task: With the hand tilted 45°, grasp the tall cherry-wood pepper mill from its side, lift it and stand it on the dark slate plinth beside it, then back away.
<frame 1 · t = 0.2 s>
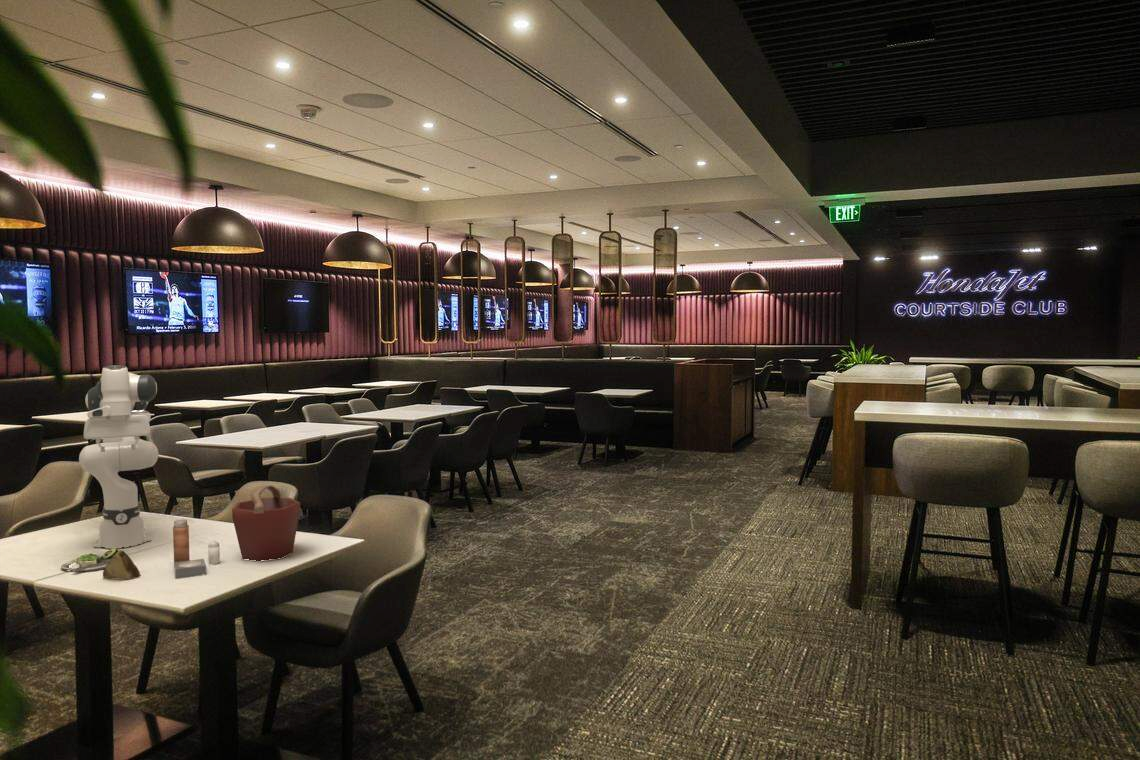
hand: (118, 450, 270), 39 cm above the table, tool pointing down, fingers open, 8 cm apart
rock: (121, 578, 253), on the table
salt shaker: (214, 563, 268), on the table
bucket: (265, 555, 278), on the table
plinth: (190, 572, 257), on the table
pepper mill: (182, 566, 264), on the table
plate of avocado toast: (95, 565, 267), on the table
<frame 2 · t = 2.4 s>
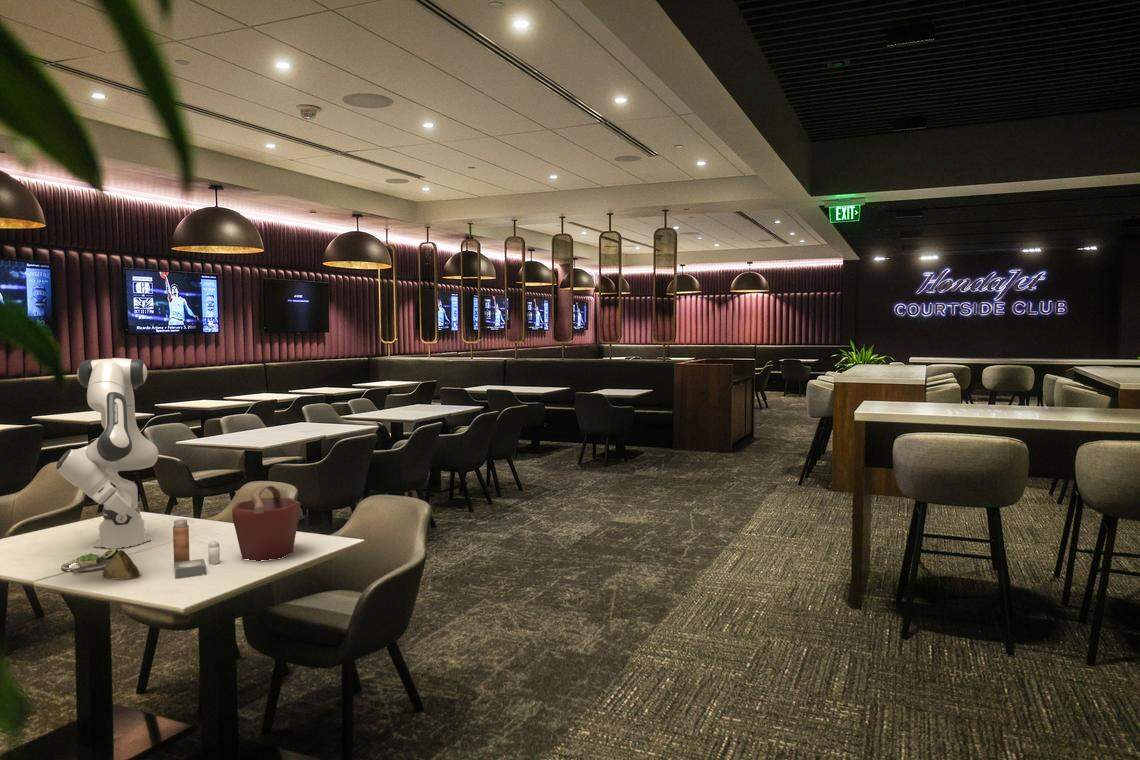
hand: (139, 515, 257), 19 cm above the table, tool tilted 45°, fingers open, 8 cm apart
nothing on the table moved.
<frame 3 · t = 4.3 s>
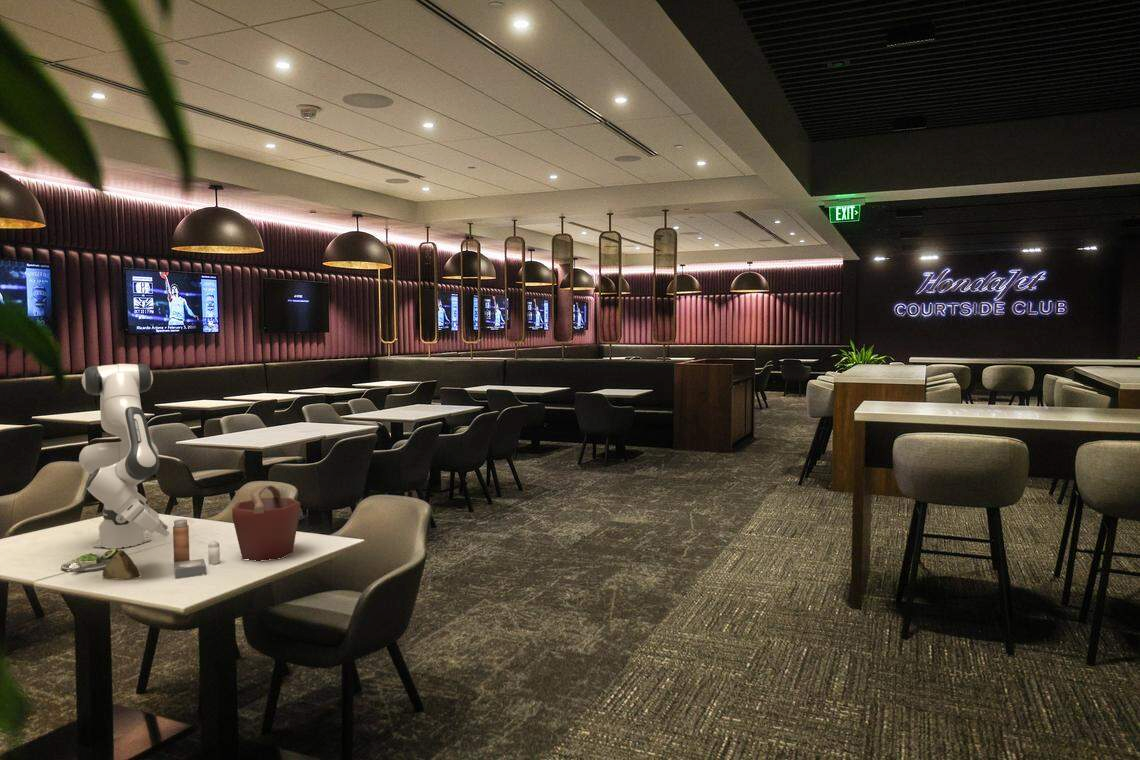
hand: (167, 532, 260), 13 cm above the table, tool tilted 45°, fingers open, 8 cm apart
nothing on the table moved.
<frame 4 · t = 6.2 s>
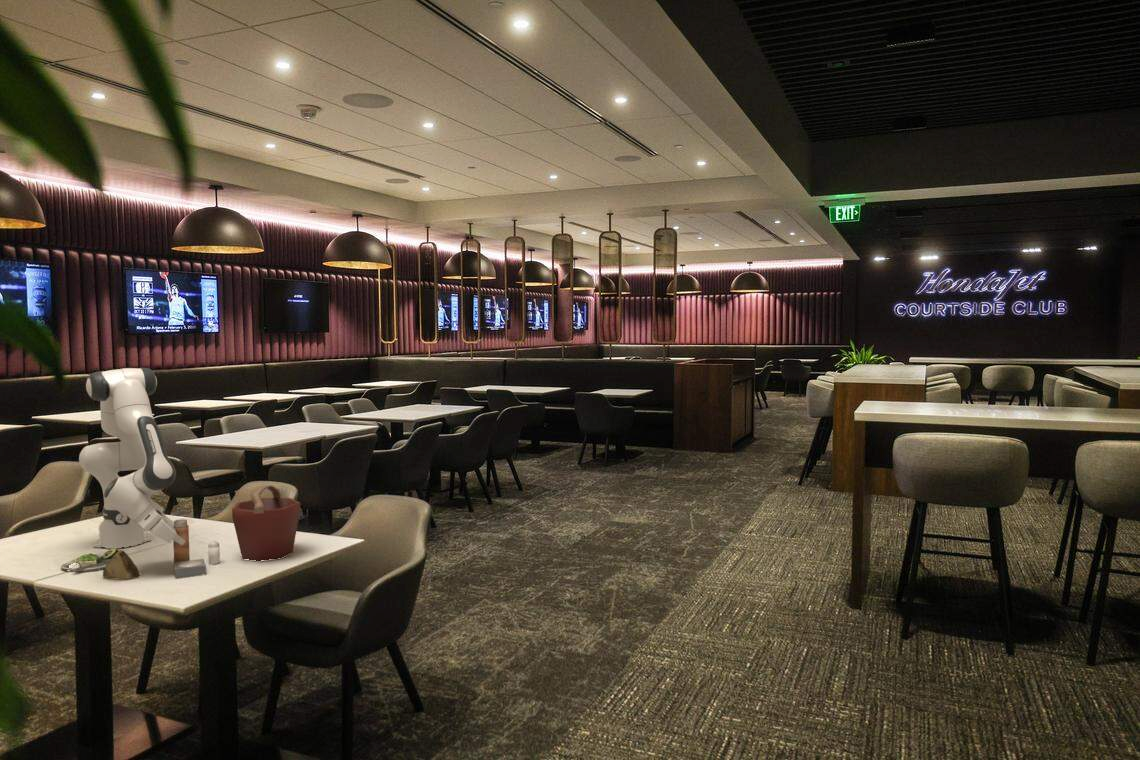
hand: (183, 540, 264), 9 cm above the table, tool tilted 45°, fingers closed on pepper mill, 5 cm apart
pepper mill: (181, 566, 264), on the table, touching gripper
everything else where it was.
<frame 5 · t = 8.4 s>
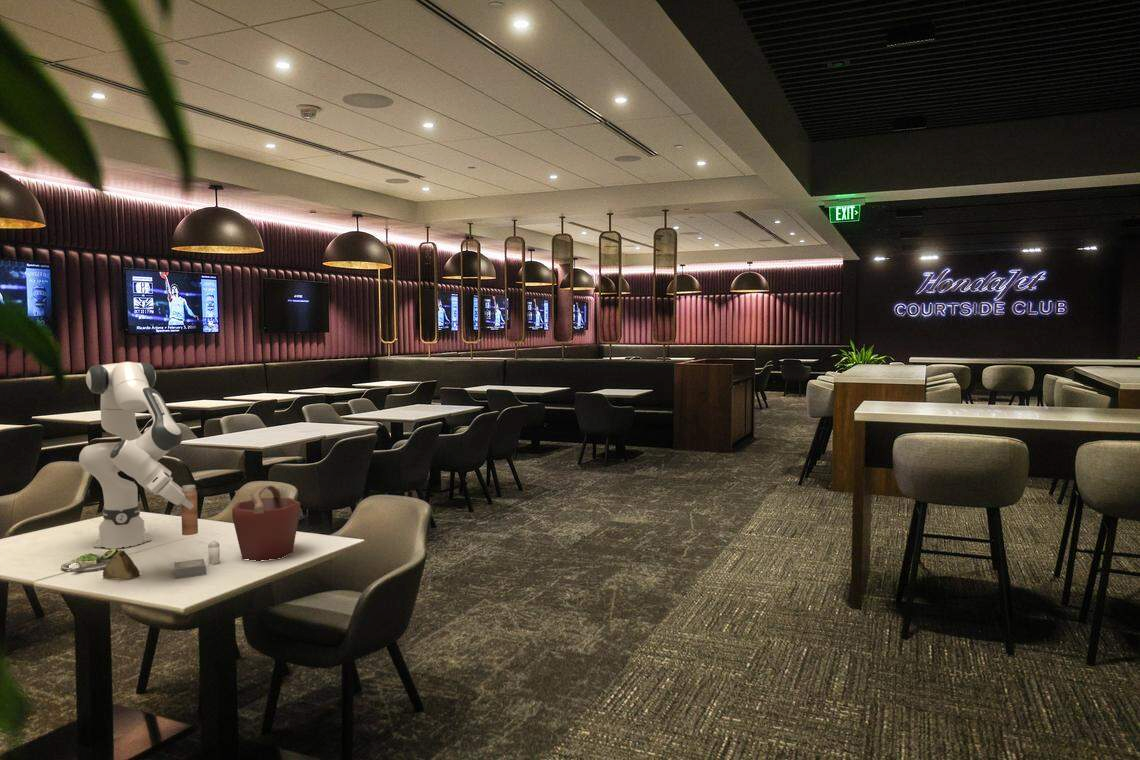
hand: (191, 505, 257), 22 cm above the table, tool tilted 45°, fingers closed on pepper mill, 5 cm apart
pepper mill: (190, 533, 257), point 13 cm above the table, touching gripper
everything else where it was.
when the fingers open (13 cm above the table, at t = 10.9 s): pepper mill stays where it is, resting on plinth.
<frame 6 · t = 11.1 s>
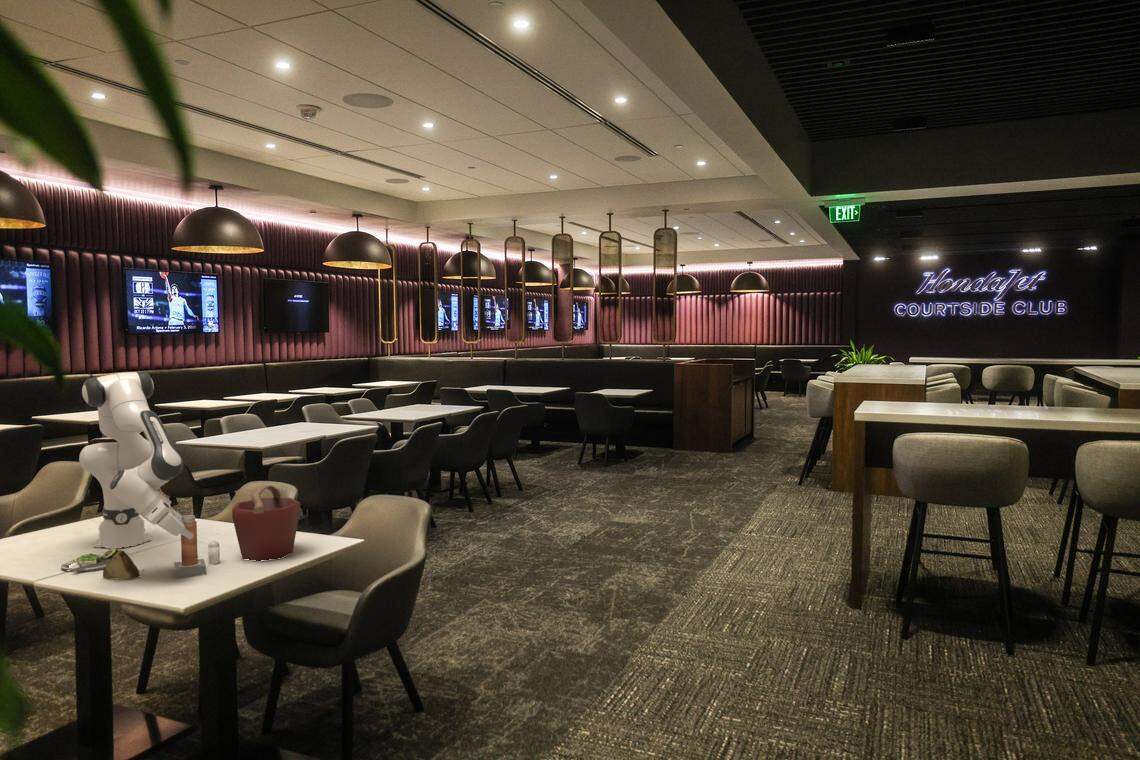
hand: (191, 534, 257), 13 cm above the table, tool tilted 45°, fingers open, 6 cm apart
pepper mill: (189, 563, 257), point 3 cm above the table, touching plinth
everything else where it was.
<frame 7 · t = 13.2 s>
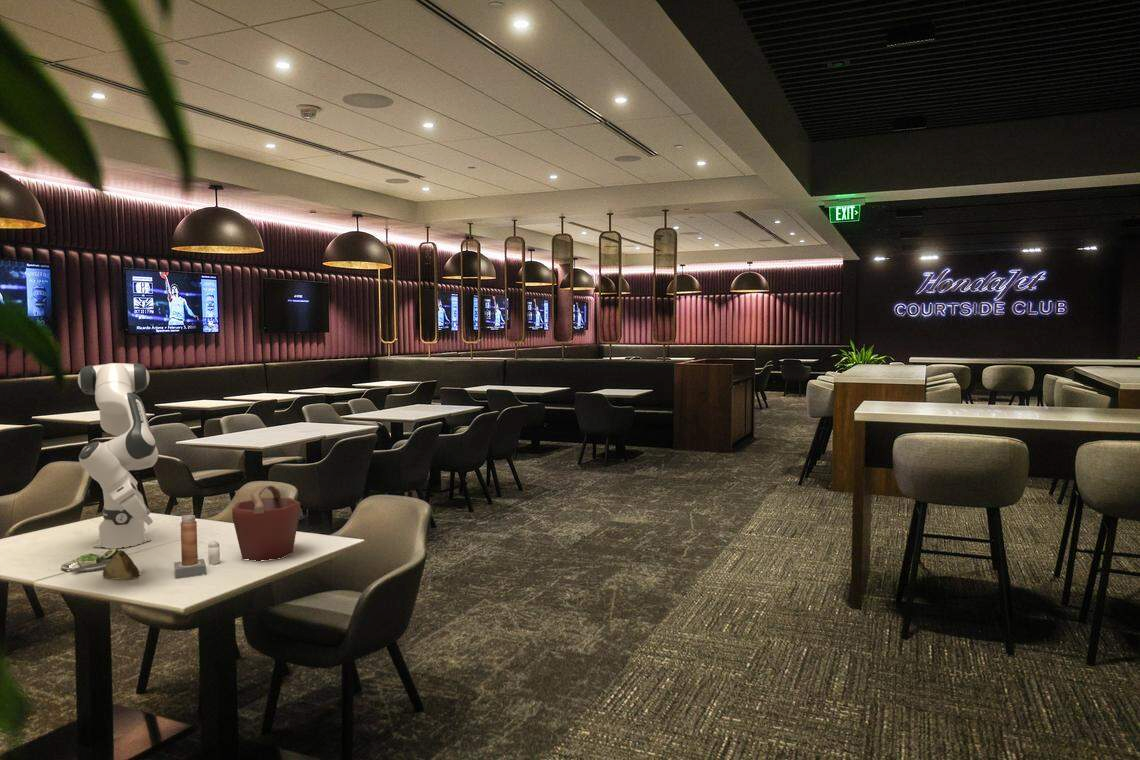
hand: (149, 518, 253), 19 cm above the table, tool tilted 35°, fingers open, 8 cm apart
nothing on the table moved.
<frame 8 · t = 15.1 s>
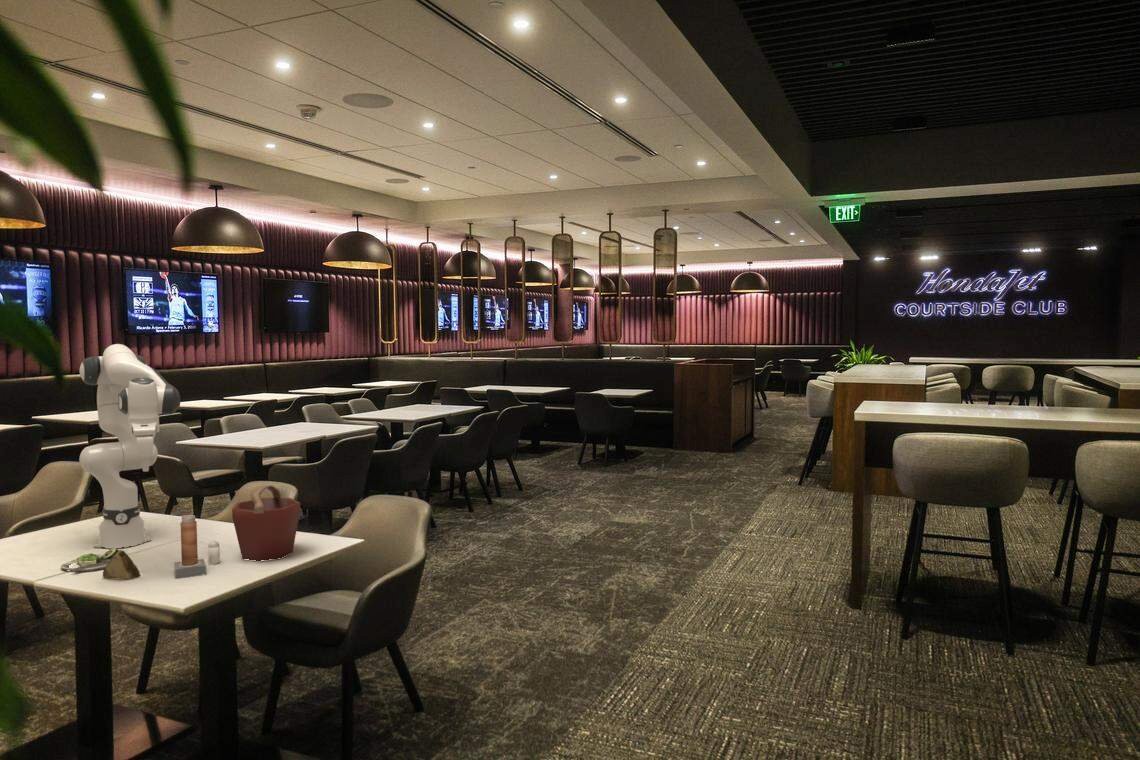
hand: (145, 469, 255), 35 cm above the table, tool pointing down, fingers open, 8 cm apart
nothing on the table moved.
at the end: pepper mill 0.1 cm off-centre on the plinth, point 3.1 cm above the plinth's base; pepper mill tilted 0°; the gripper is holding nothing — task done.
